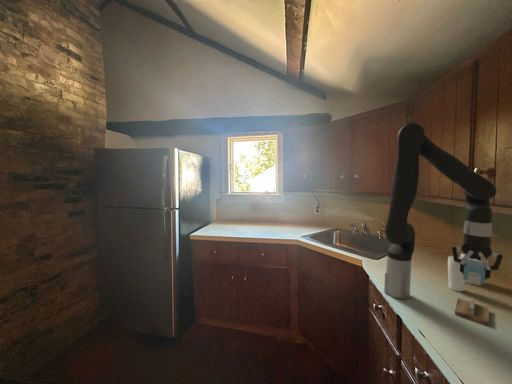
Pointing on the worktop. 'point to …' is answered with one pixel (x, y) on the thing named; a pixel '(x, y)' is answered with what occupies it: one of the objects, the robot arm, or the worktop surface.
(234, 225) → the worktop surface
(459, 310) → the rail stand
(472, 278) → the supplement box
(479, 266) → the block
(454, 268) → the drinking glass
